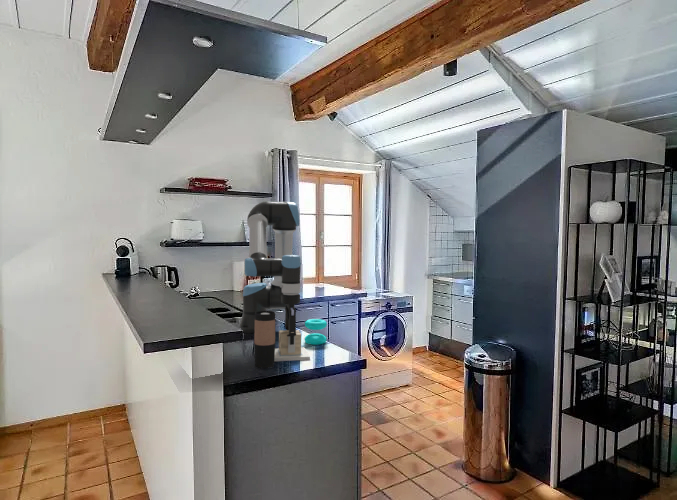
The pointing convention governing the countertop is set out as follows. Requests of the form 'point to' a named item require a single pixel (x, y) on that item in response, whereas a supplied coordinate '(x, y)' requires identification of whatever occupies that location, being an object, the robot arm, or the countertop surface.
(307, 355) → the white flat square slab
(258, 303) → the robot arm
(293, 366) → the countertop surface
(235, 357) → the countertop surface
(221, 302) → the countertop surface
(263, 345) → the travel mug
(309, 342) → the donuts
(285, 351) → the wooden cube
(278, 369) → the countertop surface
